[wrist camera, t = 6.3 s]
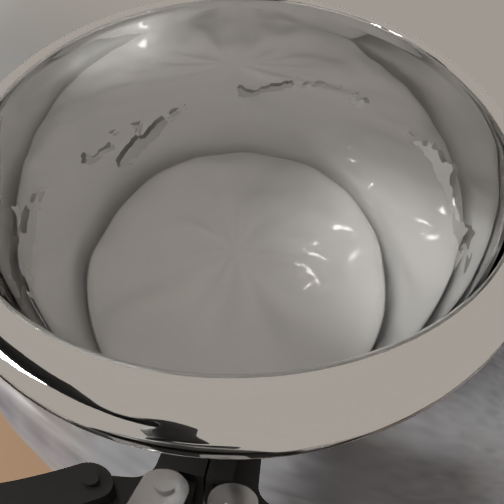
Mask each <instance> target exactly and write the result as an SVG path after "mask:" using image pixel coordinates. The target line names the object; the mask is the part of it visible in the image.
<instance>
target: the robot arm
mask: <svg viewBox="0 0 504 504" xmlns="http://www.w3.org/2000/svg"><path fill="white" fill-rule="evenodd" d="M260 464H261V459H249V460H225V459H201V458H193V457H185V456H177V455H171V454H165V453H161V455H160V457H159V460H158V462H157V464H156V466H155V468H154V469H153V470H152V471H149V472H148V473H146V474H145V475H144V476H140V477H119V476H111V474H110V472H109V471H108V470H107V469H106V468H104V467H103V466H101V465H99V464H95V463H81V464H78V465H74V466H71V467H67V468H64V469H60V470H57V471H53V472H49V473H45V474H41V475H37V476H33V477H29V478H25V479H20V480H15V481H10V482H5V483H0V504H268V503H267V502H266V501H265V500H264V499H263V498H262V497H261V495H260V493H259V489H258V484H259V474H260Z"/></svg>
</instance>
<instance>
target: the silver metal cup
mask: <svg viewBox="0 0 504 504" xmlns="http://www.w3.org/2000/svg"><path fill="white" fill-rule="evenodd" d="M503 344H504V112H503V110H502V109H501V108H500V107H499V105H498V104H497V103H496V102H495V101H494V99H493V98H492V97H491V96H490V95H489V94H488V93H487V92H486V91H485V90H484V89H483V88H482V87H481V86H480V85H479V84H478V83H477V82H476V81H475V80H474V79H473V78H472V77H471V76H469V75H468V74H467V73H466V72H465V71H464V70H462V69H461V68H460V67H459V66H457V65H456V64H455V63H454V62H452V61H451V60H450V59H448V58H447V57H445V56H444V55H443V54H441V53H440V52H438V51H437V50H435V49H433V48H432V47H430V46H429V45H427V44H425V43H423V42H422V41H420V40H418V39H417V38H415V37H413V36H411V35H409V34H407V33H405V32H403V31H401V30H399V29H397V28H395V27H393V26H391V25H388V24H386V23H384V22H381V21H379V20H376V19H374V18H371V17H368V16H366V15H362V14H360V13H357V12H354V11H351V10H347V9H344V8H340V7H337V6H333V5H329V4H325V3H320V2H316V1H311V0H166V1H161V2H156V3H151V4H147V5H143V6H139V7H136V8H132V9H129V10H126V11H123V12H120V13H117V14H114V15H111V16H108V17H105V18H103V19H100V20H98V21H95V22H93V23H91V24H88V25H86V26H84V27H82V28H80V29H78V30H75V31H74V32H72V33H70V34H68V35H66V36H64V37H62V38H60V39H59V40H57V41H55V42H53V43H52V44H50V45H48V46H47V47H45V48H44V49H42V50H41V51H39V52H38V53H36V54H35V55H33V56H32V57H30V58H29V59H28V60H26V61H25V62H24V63H23V64H21V65H20V66H19V67H17V68H16V69H15V70H14V71H13V72H11V73H10V74H9V75H8V76H7V77H6V78H5V79H4V80H2V81H1V83H0V377H1V378H2V379H3V380H4V381H6V382H7V383H8V384H9V385H10V386H12V387H13V388H14V389H15V390H17V391H18V392H19V393H21V394H22V395H23V396H25V397H26V398H28V399H29V400H31V401H32V402H34V403H35V404H37V405H38V406H40V407H41V408H43V409H45V410H46V411H48V412H49V413H51V414H53V415H55V416H56V417H58V418H60V419H62V420H64V421H66V422H68V423H70V424H73V425H75V426H77V427H79V428H81V429H83V430H86V431H88V432H91V433H93V434H96V435H99V436H101V437H104V438H107V439H110V440H112V441H115V442H118V443H122V444H125V445H129V446H133V447H137V448H141V449H145V450H150V451H154V452H159V453H165V454H171V455H177V456H185V457H193V458H201V459H225V460H249V459H264V458H275V457H285V456H293V455H298V454H304V453H309V452H314V451H319V450H324V449H329V448H333V447H336V446H340V445H344V444H347V443H350V442H354V441H357V440H360V439H363V438H366V437H369V436H372V435H374V434H377V433H379V432H382V431H384V430H386V429H389V428H391V427H393V426H396V425H398V424H400V423H402V422H404V421H406V420H408V419H410V418H412V417H414V416H416V415H418V414H419V413H421V412H423V411H425V410H427V409H428V408H430V407H432V406H433V405H435V404H437V403H438V402H440V401H441V400H442V399H444V398H445V397H447V396H448V395H450V394H451V393H452V392H454V391H455V390H457V389H458V388H459V387H460V386H462V385H463V384H464V383H465V382H467V381H468V380H469V379H470V378H471V377H473V376H474V375H475V374H476V373H477V372H478V371H479V370H481V369H482V368H483V367H484V366H485V365H486V363H487V362H488V361H489V360H490V359H491V358H492V357H493V356H494V355H495V354H496V353H497V352H498V350H499V349H500V348H501V347H502V345H503Z"/></svg>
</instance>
